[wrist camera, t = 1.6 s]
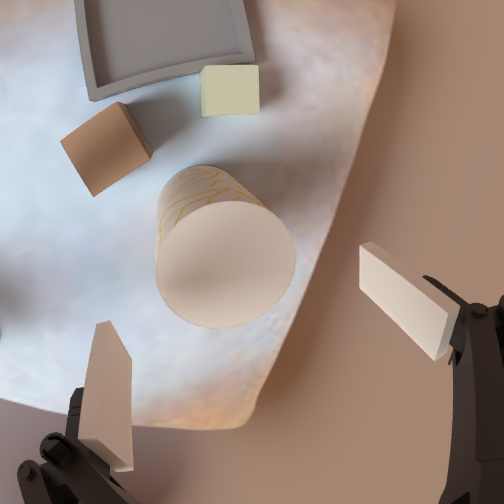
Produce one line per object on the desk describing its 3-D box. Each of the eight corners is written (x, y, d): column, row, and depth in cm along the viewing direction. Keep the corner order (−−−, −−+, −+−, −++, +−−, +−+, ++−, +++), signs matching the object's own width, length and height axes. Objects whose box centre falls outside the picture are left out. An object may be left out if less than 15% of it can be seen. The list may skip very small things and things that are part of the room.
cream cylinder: (244, 162, 27) (299, 196, 16) (245, 245, 30) (291, 317, 20) (153, 170, 25) (146, 209, 14) (162, 254, 28) (167, 336, 18)
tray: (77, -23, 14) (72, -31, 13) (223, -54, 17) (228, -63, 15) (94, 101, 21) (89, 100, 19) (249, 64, 23) (255, 60, 21)
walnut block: (77, 136, 22) (59, 141, 17) (125, 104, 22) (117, 101, 17) (105, 182, 24) (93, 197, 20) (152, 152, 24) (150, 160, 20)
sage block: (199, 73, 22) (205, 65, 19) (244, 72, 23) (258, 65, 20) (201, 117, 24) (207, 116, 21) (246, 114, 25) (259, 114, 22)
